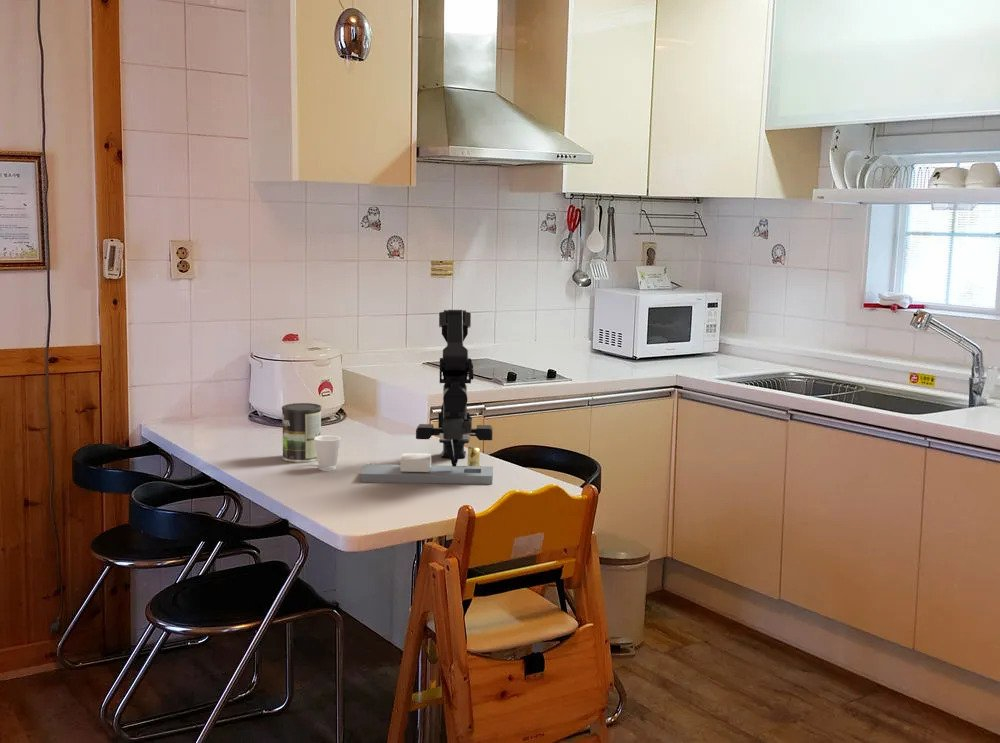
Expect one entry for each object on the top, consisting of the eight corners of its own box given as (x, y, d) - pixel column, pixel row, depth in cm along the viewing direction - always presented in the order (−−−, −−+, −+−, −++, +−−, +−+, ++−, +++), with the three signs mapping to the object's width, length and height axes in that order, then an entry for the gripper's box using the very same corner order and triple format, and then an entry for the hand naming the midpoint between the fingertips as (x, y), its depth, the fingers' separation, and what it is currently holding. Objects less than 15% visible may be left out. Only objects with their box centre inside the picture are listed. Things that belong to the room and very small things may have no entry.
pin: (467, 469, 265) (468, 446, 264) (479, 469, 265) (479, 446, 264) (467, 472, 262) (467, 449, 261) (479, 472, 262) (479, 449, 261)
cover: (403, 464, 258) (403, 453, 258) (431, 465, 258) (431, 453, 258) (400, 471, 252) (400, 459, 251) (429, 471, 252) (429, 459, 251)
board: (366, 472, 260) (366, 463, 260) (492, 474, 260) (492, 466, 260) (360, 481, 250) (360, 473, 250) (492, 484, 250) (492, 475, 250)
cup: (318, 473, 258) (318, 441, 257) (306, 464, 267) (306, 434, 266) (345, 470, 262) (345, 439, 261) (332, 462, 270) (332, 432, 269)
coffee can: (285, 464, 268) (285, 410, 266) (279, 455, 277) (279, 403, 275) (325, 461, 271) (324, 408, 269) (318, 453, 281) (317, 402, 279)
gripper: (413, 409, 245) (413, 473, 247) (492, 410, 245) (491, 474, 247) (418, 401, 256) (417, 462, 258) (493, 402, 256) (492, 464, 258)
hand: (454, 466), depth 255 cm, fingers closed
